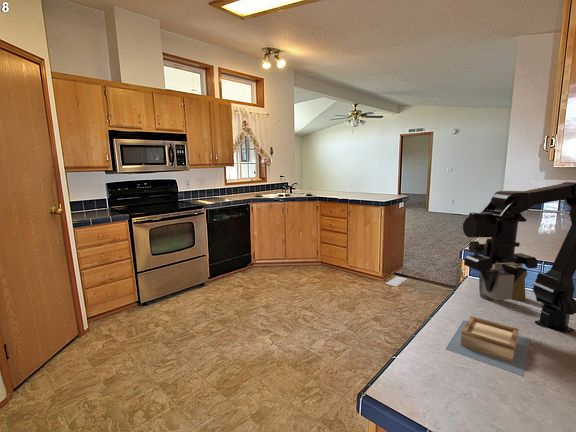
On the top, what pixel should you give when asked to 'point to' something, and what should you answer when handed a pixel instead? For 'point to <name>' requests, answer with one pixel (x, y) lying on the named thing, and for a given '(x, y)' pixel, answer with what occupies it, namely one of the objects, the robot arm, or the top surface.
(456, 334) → the board
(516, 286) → the cork
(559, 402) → the top surface
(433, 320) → the top surface
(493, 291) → the block
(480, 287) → the beverage cup
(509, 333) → the wooden tray
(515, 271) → the robot arm
